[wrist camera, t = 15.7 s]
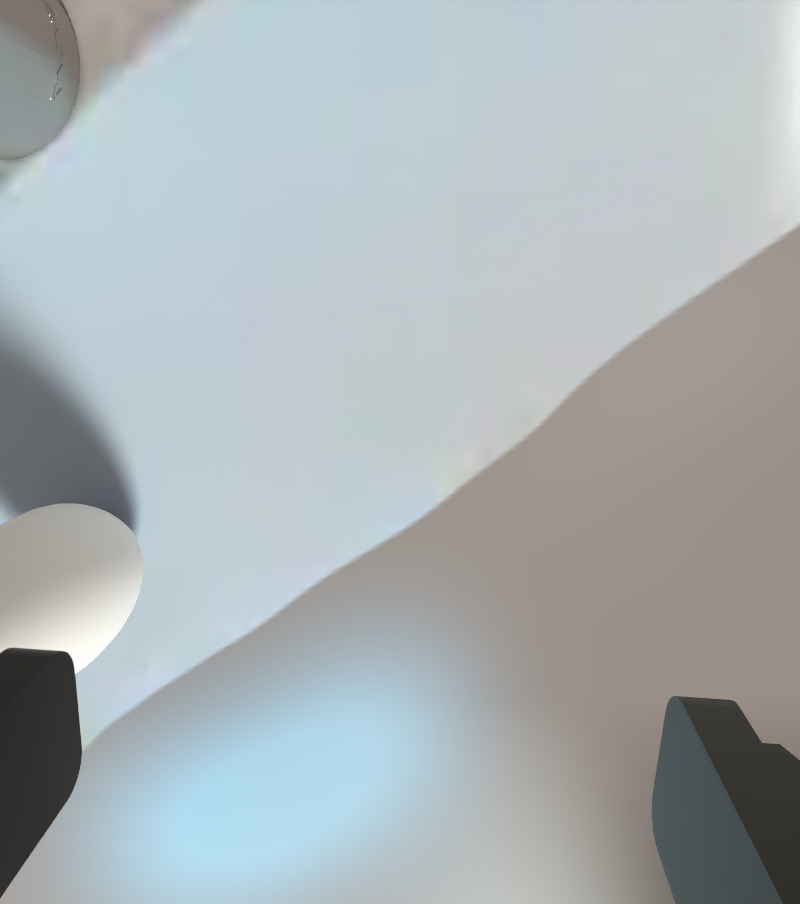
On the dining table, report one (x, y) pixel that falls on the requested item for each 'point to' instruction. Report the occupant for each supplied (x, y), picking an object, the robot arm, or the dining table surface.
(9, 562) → the sauce bottle
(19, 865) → the robot arm
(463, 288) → the dining table surface
